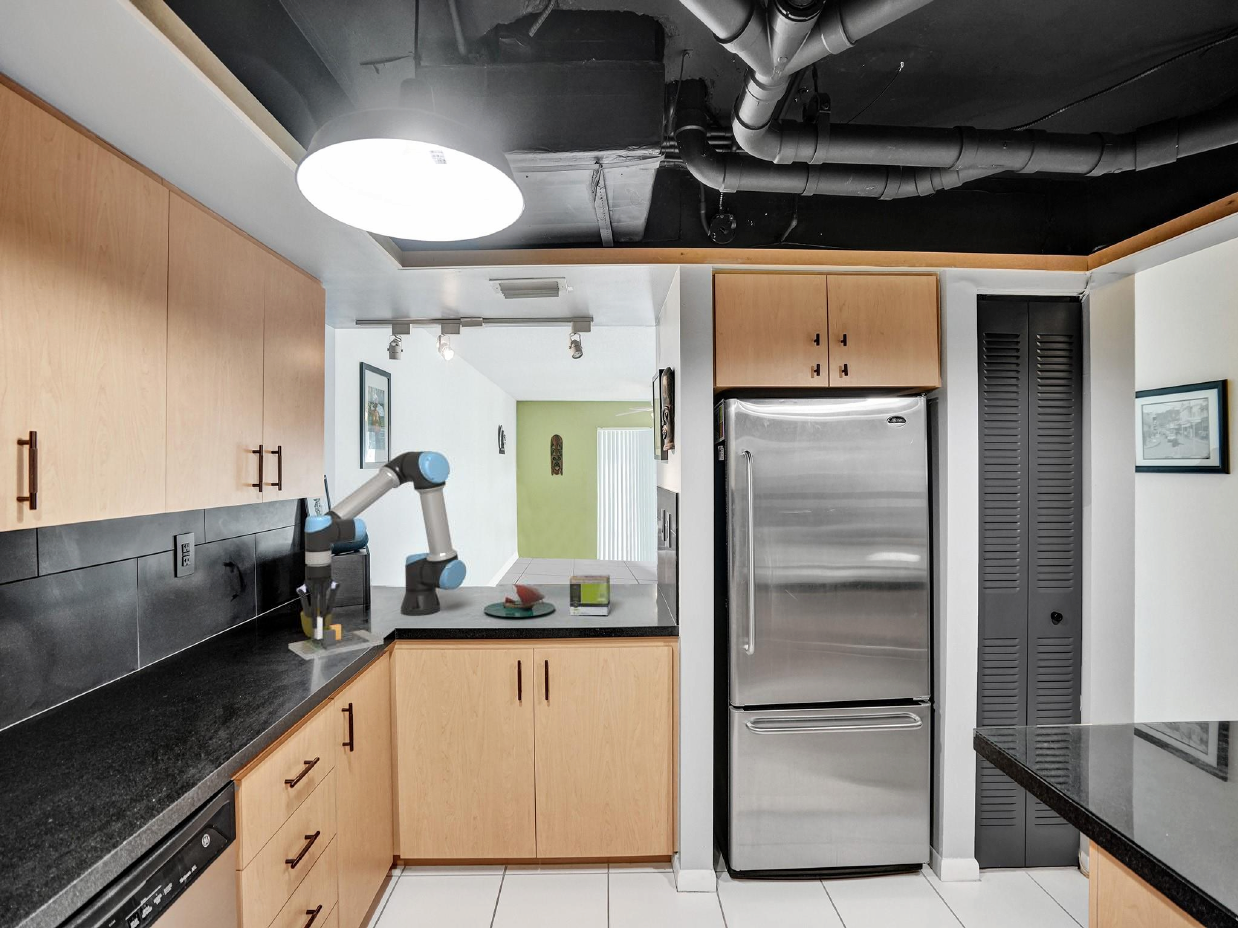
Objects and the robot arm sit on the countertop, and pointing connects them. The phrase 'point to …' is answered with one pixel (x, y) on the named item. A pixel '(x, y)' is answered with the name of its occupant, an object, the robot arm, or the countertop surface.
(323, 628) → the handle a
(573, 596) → the tea box
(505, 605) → the sailing ship model
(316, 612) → the robot arm
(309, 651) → the panel
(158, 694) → the countertop surface
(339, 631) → the orange upright block
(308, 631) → the flower pot
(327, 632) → the handle
